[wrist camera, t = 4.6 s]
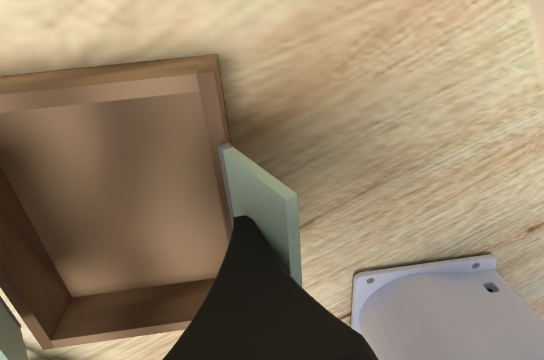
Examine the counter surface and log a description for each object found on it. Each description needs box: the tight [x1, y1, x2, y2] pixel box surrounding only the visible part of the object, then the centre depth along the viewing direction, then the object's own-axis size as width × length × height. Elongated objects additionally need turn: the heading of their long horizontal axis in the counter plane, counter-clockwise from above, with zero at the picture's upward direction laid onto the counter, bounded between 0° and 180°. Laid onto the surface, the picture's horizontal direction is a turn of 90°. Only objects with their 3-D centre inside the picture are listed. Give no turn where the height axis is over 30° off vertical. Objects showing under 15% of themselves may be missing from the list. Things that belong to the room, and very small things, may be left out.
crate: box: [0, 54, 232, 350], centre depth 16 cm, size 11×13×3 cm
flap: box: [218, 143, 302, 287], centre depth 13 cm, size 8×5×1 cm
